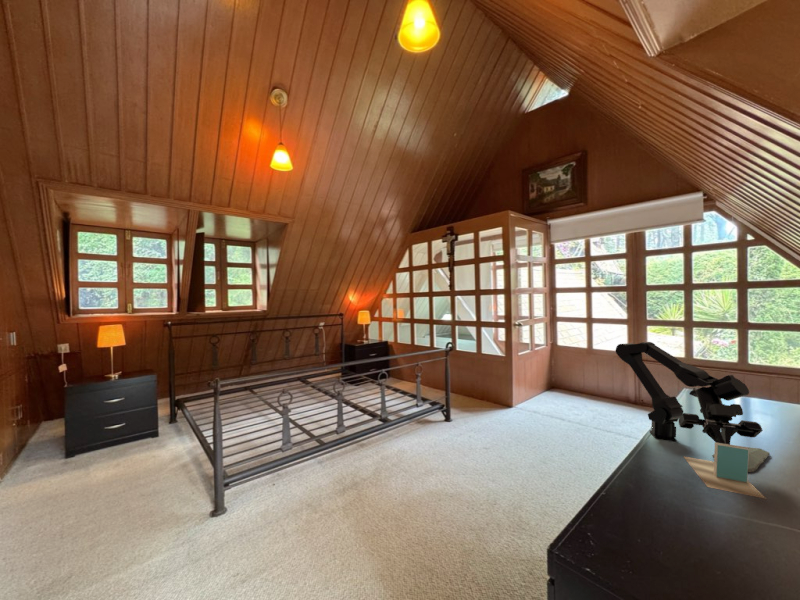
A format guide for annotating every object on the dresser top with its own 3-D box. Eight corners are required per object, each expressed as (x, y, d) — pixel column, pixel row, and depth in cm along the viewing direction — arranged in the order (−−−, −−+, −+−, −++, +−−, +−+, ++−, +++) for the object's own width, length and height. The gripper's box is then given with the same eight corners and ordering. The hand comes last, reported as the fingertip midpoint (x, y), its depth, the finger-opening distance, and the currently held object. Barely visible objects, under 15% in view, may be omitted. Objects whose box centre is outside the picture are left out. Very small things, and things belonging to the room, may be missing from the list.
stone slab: (710, 462, 106) (753, 473, 98) (709, 453, 106) (752, 464, 98) (733, 448, 117) (774, 456, 109) (732, 440, 117) (773, 448, 109)
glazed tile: (713, 474, 98) (714, 442, 97) (744, 479, 95) (746, 447, 94) (716, 477, 96) (717, 444, 96) (747, 483, 93) (749, 449, 93)
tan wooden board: (683, 457, 108) (683, 456, 108) (731, 466, 103) (731, 464, 103) (707, 488, 92) (707, 486, 92) (766, 500, 86) (766, 498, 86)
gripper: (682, 389, 106) (696, 435, 96) (760, 396, 98) (782, 448, 89) (673, 404, 113) (684, 449, 104) (744, 413, 106) (764, 462, 96)
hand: (726, 451), depth 98 cm, fingers closed
